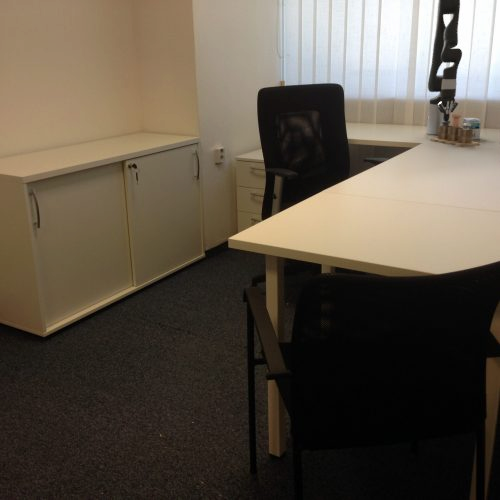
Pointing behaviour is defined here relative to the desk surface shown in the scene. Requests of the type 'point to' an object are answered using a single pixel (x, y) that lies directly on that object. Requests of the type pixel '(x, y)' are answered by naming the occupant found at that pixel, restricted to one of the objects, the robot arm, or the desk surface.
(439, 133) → the socket board
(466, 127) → the plug grey
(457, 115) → the plug terracotta
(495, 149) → the desk surface
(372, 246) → the desk surface
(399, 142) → the desk surface
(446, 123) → the peg
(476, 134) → the light bulb box
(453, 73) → the robot arm
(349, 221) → the desk surface
